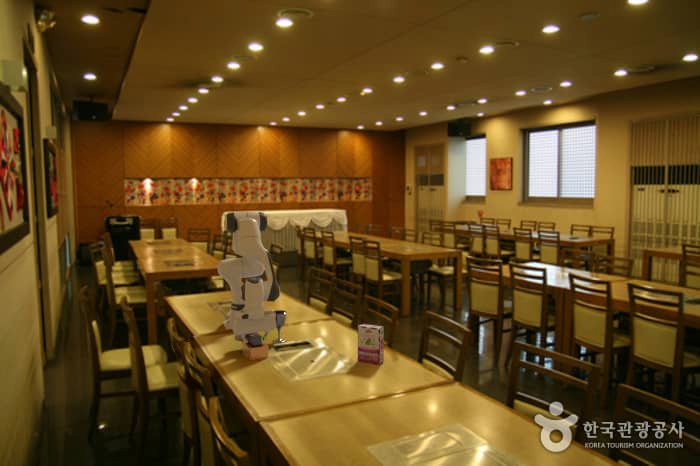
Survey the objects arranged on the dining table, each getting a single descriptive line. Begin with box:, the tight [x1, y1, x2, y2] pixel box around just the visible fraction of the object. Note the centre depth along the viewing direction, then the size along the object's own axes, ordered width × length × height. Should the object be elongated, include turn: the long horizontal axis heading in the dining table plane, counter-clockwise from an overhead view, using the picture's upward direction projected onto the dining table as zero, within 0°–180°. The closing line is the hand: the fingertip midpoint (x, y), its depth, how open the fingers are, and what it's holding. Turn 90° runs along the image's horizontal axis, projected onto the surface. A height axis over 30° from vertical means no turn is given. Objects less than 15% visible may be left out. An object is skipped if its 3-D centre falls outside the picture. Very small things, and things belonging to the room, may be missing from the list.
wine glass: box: [271, 309, 288, 344], centre depth 272 cm, size 8×8×15 cm
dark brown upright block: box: [249, 332, 263, 347], centre depth 249 cm, size 6×4×10 cm, turn 31°
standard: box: [234, 308, 269, 361], centre depth 253 cm, size 21×12×20 cm, turn 31°
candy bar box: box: [357, 323, 385, 365], centre depth 242 cm, size 11×5×16 cm, turn 62°
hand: (255, 341), depth 249 cm, fingers open, 8 cm apart
